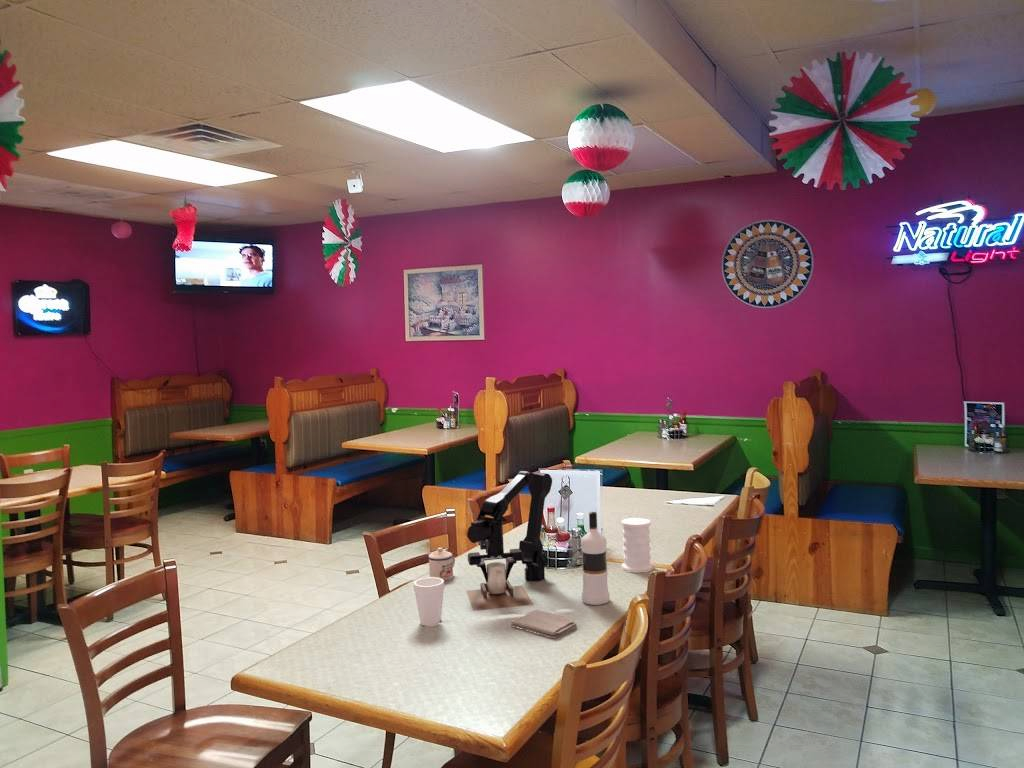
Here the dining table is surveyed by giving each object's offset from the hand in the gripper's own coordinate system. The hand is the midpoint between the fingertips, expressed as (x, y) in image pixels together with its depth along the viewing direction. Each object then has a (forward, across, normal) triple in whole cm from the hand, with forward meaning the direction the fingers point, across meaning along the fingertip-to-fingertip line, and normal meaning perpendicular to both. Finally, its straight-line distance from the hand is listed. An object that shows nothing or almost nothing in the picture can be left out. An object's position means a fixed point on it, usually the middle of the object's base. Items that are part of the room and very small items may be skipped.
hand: (496, 581), depth 261 cm
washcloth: (+6, -9, +31) cm, 33 cm away
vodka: (+6, -31, +14) cm, 34 cm away
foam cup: (+5, +24, +18) cm, 31 cm away
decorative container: (+6, -56, -16) cm, 58 cm away
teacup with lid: (+6, +16, -26) cm, 31 cm away
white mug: (+3, 0, +2) cm, 4 cm away
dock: (+5, 0, +4) cm, 7 cm away
